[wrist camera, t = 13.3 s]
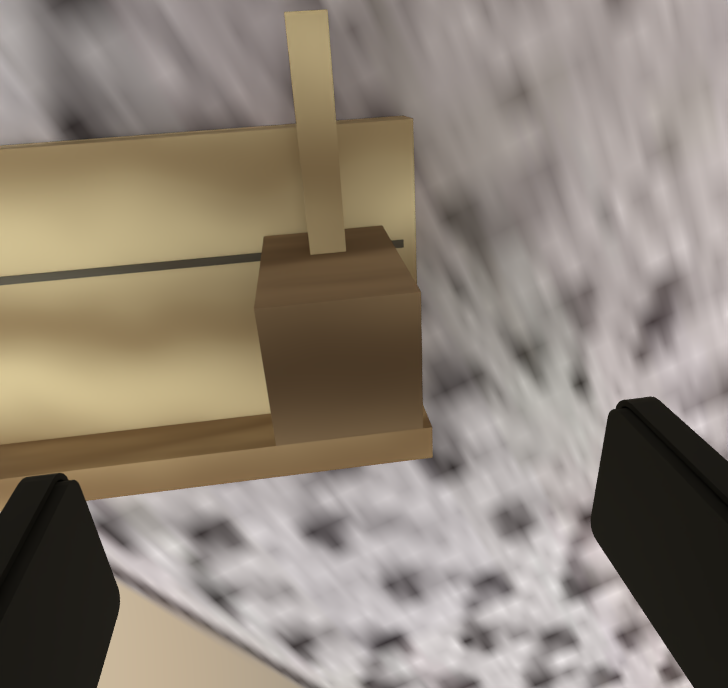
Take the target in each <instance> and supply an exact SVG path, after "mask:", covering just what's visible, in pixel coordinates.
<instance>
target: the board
mask: <svg viewBox="0 0 728 688" xmlns="http://www.w3.org/2000/svg"><path fill="white" fill-rule="evenodd" d="M336 127H337V140H338V153H339V166H340V179H341V192H342V205H343V217H344V229H348V228H359V227H370V226H381V225H382V226H383V227H384V229H385V231H386V233H387V234H388V236H389V238H390V239H391V241H392V243H393V245H394V246H395V248H396V250H397V252H398V253H399V255H400V257H401V258H402V260H403V262H404V264H405V265H406V267H407V269H408V270H409V272H410V274H411V276H412V277H413V279H414V281H415V283H416V284H417V270H416V227H415V183H414V139H413V119H412V118H409V117H406V116H391V117H378V118H364V119H351V120H338V121H336ZM305 232H308V229H307V220H306V211H305V201H304V192H303V183H302V174H301V164H300V155H299V146H298V137H297V127H296V124H284V125H271V126H257V127H244V128H230V129H217V130H203V131H190V132H177V133H163V134H150V135H136V136H123V137H110V138H96V139H83V140H69V141H56V142H42V143H29V144H16V145H2V146H0V511H2V510H3V508H4V506H5V505H6V503H7V501H8V500H9V498H10V497H11V495H12V493H13V492H14V490H15V488H16V487H17V485H18V483H19V482H20V481H21V480H22V479H23V478H25V477H30V476H38V475H45V474H53V473H64V474H65V475H66V476H67V478H68V480H76V481H77V482H78V483H79V485H80V487H81V489H82V492H83V495H84V497H85V500H86V501H88V500H96V499H104V498H112V497H120V496H128V495H136V494H144V493H152V492H160V491H168V490H176V489H184V488H192V487H200V486H208V485H216V484H224V483H232V482H240V481H248V480H256V479H264V478H272V477H280V476H288V475H296V474H304V473H312V472H320V471H328V470H336V469H344V468H352V467H360V466H368V465H376V464H384V463H392V462H400V461H408V460H416V459H424V458H432V457H433V455H432V426H431V423H430V421H429V418H428V416H427V413H426V411H425V409H424V406H423V428H420V429H412V430H404V431H395V432H387V433H379V434H371V435H363V436H355V437H346V438H338V439H330V440H322V441H314V442H306V443H297V444H289V445H281V446H276V442H275V436H274V430H273V423H272V417H271V411H270V405H269V399H268V393H267V386H266V380H265V374H264V368H263V362H262V356H261V350H260V343H259V337H258V331H257V325H256V319H255V313H254V305H255V297H256V290H257V282H258V275H259V268H260V260H261V253H262V246H263V238H264V236H273V235H284V234H294V233H305Z"/></svg>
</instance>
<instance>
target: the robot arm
mask: <svg viewBox="0 0 728 688" xmlns="http://www.w3.org/2000/svg"><path fill="white" fill-rule="evenodd" d="M591 528H592V532H593V534H594V537H595V539H596V540H597V542H598V543H599V545H600V547H601V548H602V550H603V551H604V553H605V554H606V556H607V557H608V559H609V560H610V562H611V563H612V565H613V566H614V568H615V569H616V571H617V572H618V574H619V575H620V577H621V578H622V580H623V581H624V583H625V584H626V586H627V587H628V589H629V590H630V592H631V593H632V595H633V596H634V598H635V599H636V601H637V602H638V604H639V605H640V607H641V609H642V610H643V612H644V613H645V615H646V616H647V618H648V619H649V621H650V622H651V624H652V625H653V627H654V628H655V630H656V631H657V633H658V634H659V636H660V637H661V639H662V640H663V642H664V643H665V645H666V646H667V648H668V649H669V651H670V652H671V654H672V655H673V657H674V658H675V660H676V661H677V663H678V664H679V666H680V667H681V669H682V670H683V672H684V674H685V675H686V677H687V678H688V680H689V681H690V683H691V684H692V686H693V687H694V688H728V461H727V460H726V459H724V458H723V457H722V456H721V455H720V454H719V453H718V452H717V451H716V450H714V449H713V448H712V447H711V446H710V445H709V444H708V443H707V442H705V441H704V440H703V439H702V438H701V437H700V436H699V435H698V434H697V433H695V432H694V431H693V430H692V429H691V428H690V427H689V426H688V425H686V424H685V423H684V422H683V421H682V420H681V419H680V418H679V417H678V416H676V415H675V414H674V413H673V412H672V411H671V410H670V409H669V408H667V407H666V406H665V405H664V404H663V403H662V402H661V401H660V400H658V399H657V398H655V397H644V398H636V399H628V400H622V401H620V402H619V403H618V404H617V406H616V409H613V410H611V411H610V413H609V415H608V419H607V425H606V431H605V437H604V443H603V449H602V455H601V461H600V467H599V472H598V478H597V484H596V490H595V496H594V502H593V508H592V514H591ZM119 606H120V594H119V589H118V586H117V584H116V581H115V578H114V575H113V573H112V570H111V567H110V565H109V562H108V559H107V557H106V554H105V551H104V549H103V546H102V543H101V540H100V538H99V535H98V532H97V530H96V527H95V524H94V522H93V519H92V516H91V514H90V511H89V508H88V505H87V503H86V500H85V497H84V495H83V492H82V489H81V487H80V485H79V483H78V482H77V481H76V480H68V478H67V476H66V475H65V474H64V473H53V474H45V475H38V476H30V477H25V478H23V479H22V480H21V481H20V482H19V483H18V485H17V487H16V488H15V490H14V492H13V493H12V495H11V497H10V498H9V500H8V501H7V503H6V505H5V506H4V508H3V510H2V511H1V513H0V688H97V685H98V682H99V679H100V675H101V672H102V668H103V665H104V661H105V658H106V654H107V651H108V647H109V644H110V640H111V637H112V633H113V630H114V626H115V623H116V620H117V616H118V612H119Z"/></svg>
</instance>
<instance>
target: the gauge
mask: <svg viewBox="0 0 728 688" xmlns="http://www.w3.org/2000/svg"><path fill="white" fill-rule="evenodd" d="M284 16H285V25H286V35H287V44H288V53H289V62H290V72H291V81H292V90H293V99H294V109H295V118H296V127H297V137H298V146H299V155H300V164H301V174H302V183H303V192H304V201H305V211H306V220H307V229H308V232H305V233H294V234H284V235H273V236H264V238H263V246H262V253H261V260H260V268H259V275H258V282H257V290H256V297H255V305H254V313H255V319H256V325H257V331H258V337H259V343H260V350H261V356H262V362H263V368H264V374H265V380H266V386H267V393H268V399H269V405H270V411H271V417H272V423H273V430H274V436H275V442H276V446H281V445H289V444H297V443H306V442H314V441H322V440H330V439H338V438H346V437H355V436H363V435H371V434H379V433H387V432H395V431H404V430H412V429H420V428H423V395H422V332H421V291H420V289H419V288H418V286H417V284H416V283H415V281H414V279H413V277H412V276H411V274H410V272H409V270H408V269H407V267H406V265H405V264H404V262H403V260H402V258H401V257H400V255H399V253H398V252H397V250H396V248H395V246H394V245H393V243H392V241H391V239H390V238H389V236H388V234H387V233H386V231H385V229H384V227H383V226H382V225H381V226H370V227H359V228H348V229H344V217H343V205H342V192H341V179H340V166H339V153H338V140H337V127H336V114H335V102H334V89H333V76H332V63H331V50H330V37H329V24H328V12H327V10H310V11H294V12H284Z"/></svg>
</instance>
